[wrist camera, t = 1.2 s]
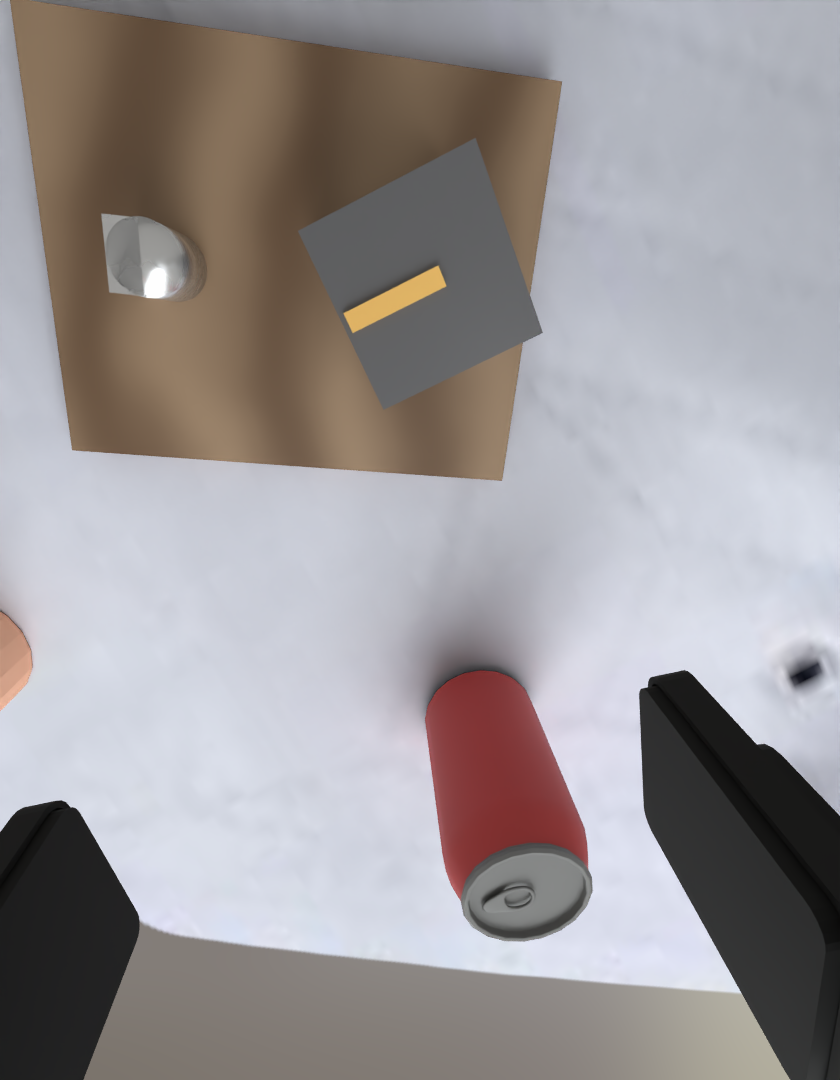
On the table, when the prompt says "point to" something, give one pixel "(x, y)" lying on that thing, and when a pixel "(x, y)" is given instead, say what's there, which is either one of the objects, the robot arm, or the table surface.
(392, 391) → the grey cube with stripe
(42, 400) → the table surface
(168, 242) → the d shaft
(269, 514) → the table surface
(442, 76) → the base plate
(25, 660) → the pepper shaker
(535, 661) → the table surface
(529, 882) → the beer can
